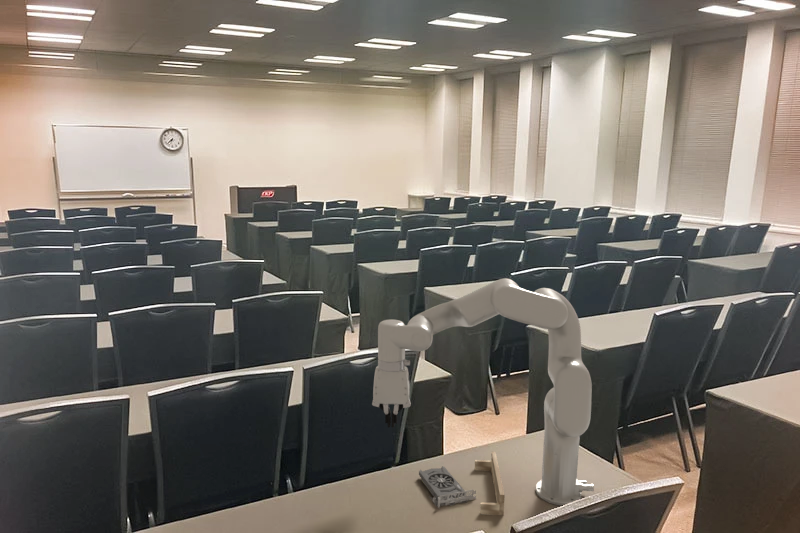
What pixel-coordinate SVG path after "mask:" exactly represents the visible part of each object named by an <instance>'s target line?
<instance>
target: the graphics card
mask: <svg viewBox="0 0 800 533" xmlns="http://www.w3.org/2000/svg"><path fill="white" fill-rule="evenodd" d="M418 475H419V478H420V480H421V482H422V483H423V484H424V486H425V487H426V488H427V490H428V491H429V492H430V494H431V495H432V496H433V497H432V496H430V495H428V498H429V499H430V500H431V501H432V503H433V504H434V507H437V508H438V509H440V507H443V506H455V504H457V503H460V504H466V503H469V501H472V500H476V499H477V495H475V494H477V490H474V489H469V490H468V489H467V490H465V489H464V488H463V487H462V486H461V485H460V483H458V481H457V480H456V479H455V477H454V476H453V475H452V474H451V473H450V471H448V469H447V468H446V467H445V466H441V467H440V468H439V467H438V468H437V467H436V468H429V469H426V470H422V469H420V470H418Z"/></svg>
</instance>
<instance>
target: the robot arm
mask: <svg viewBox="0 0 800 533" xmlns="http://www.w3.org/2000/svg"><path fill="white" fill-rule="evenodd" d="M498 315H500V316H502V317H504V318H507V319H509V320H513V321H516V322H518V323H522V324H526V325H530V326H533V327H536V328H540V329H544V330H547V332H548V358H547V359H548V360H547V374H548V376H549V378H550V380H551V383H552V384H553V387H552V388H550V390H548V392H547V393H546V395H545V397H544V401H543V404H544V405H543V410H544V411H543V414H544V416H543V417H544V433H543V434H544V436H543V451H542V452H543V453H542V467H541V469H542V471H541V479H540V480H538V481H537V483H536V484H535V493H536V494H537V496H538V497H539V498H541V499H542V500H543V501H545V502H547V503H549V504H552V505H556V506H562V505H564V504H567V503H569V502H573V501H575V500H578V499H580V500H581V499H582V492H584V491H585V492H594V489H595V487H594V484H593V483H588V482H587V480H586V479H578V464H579V449H580V437H581V436H582V435H583V434H584V433H585V432H586V431H587V430H588V429H589V426H590V423H591V416H592V415H591V414H592V413H591V412H592V388H593V387H592V386H593V384H592V378H591V374H590V372H589V370H588V368H587V367H586V365H585V364H584V362H583V359H582V331H581V324H580V323H581V322H580V320H579V317H578V314H577V313H576V310H575V308H574V306H573V305H572V304H571V302H570V301H569V300H568V299H567V298H566V296H564V295H563V294H561V293H559V291H556V290H554V289H553V288H548V287H541V288H538V289H535V290H534V291H531V290H527V289H525V288H522V287H520V286H519V285H518V283H517V282H515V281H514V280H512V279H510V278H505V277H504V278H499V279H497V280H495V281H493V282H490V283H488V284H487V285H484V286H482V287H479V288H478V289H476V290H474V291H472V292H470V293H467V294H466V295H463V296H461V297H458V298H455V299H451V300H449V301H447V302H446V301H445V302H443V303H440V304H438V305H435V306H433V307H430V308H428V309H426V310H424V311H422V312H419V313H417V314H416V315H413V317H412V318H410V320H408V322H407V324H405V323H404V321H402V320H398V319H384V320H382V321H380V322H379V323H378V326H377V327H378V328H377V354H378V355H377V366H376V367H375V370H374V378H373V390H372V397H373V398H372V402H371V405H372V406H373V407H377V408H380V410H381V411H383V413H384V414H385V417H384V418H385V420H384V421H385V424H387V428H388V429H389V428H395V425H396V424H397V423H398V413H399V412H401V411H402V409H407V408H410V407H411V404H412V403H411V400H410V391H411V390H410V386H411V385H410V375H409V368H408V367H407V366H411V360H408V359H406V350H407V351H413V352H424V351H426V350H428V349H429V348H430V347H431V346H432V344H433V339H434V338H433V336H434V335H436V334H439V333H440V332H442V331H445V330H448V329H451V328H453V327H465V328H472V327H475V326H477V325H480V324H481V323H483V322H485V321H488V320H490V319H492V318H494V317H495V316H498ZM390 405H394V406H393V409H392V411H391V409H390Z"/></svg>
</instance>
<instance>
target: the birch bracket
mask: <svg viewBox="0 0 800 533" xmlns="http://www.w3.org/2000/svg"><path fill="white" fill-rule="evenodd" d="M497 456H498V455H497V453H496V451H491V456H490V457H491V458H490V459H491V460H487V459H486V460H485V459H484V460H483V459H475V460H474V471H483V472H484V471H485V472H491V478H492V483H493V488H494V494H495V500H496V502H480V506H479V509H480V510H479V513H480V515H486V516H487V515H490V516H504V515H505V491H504V485H503V482H502V476H501V471H500V467H499V462H498V461H499V460H498V457H497Z"/></svg>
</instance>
